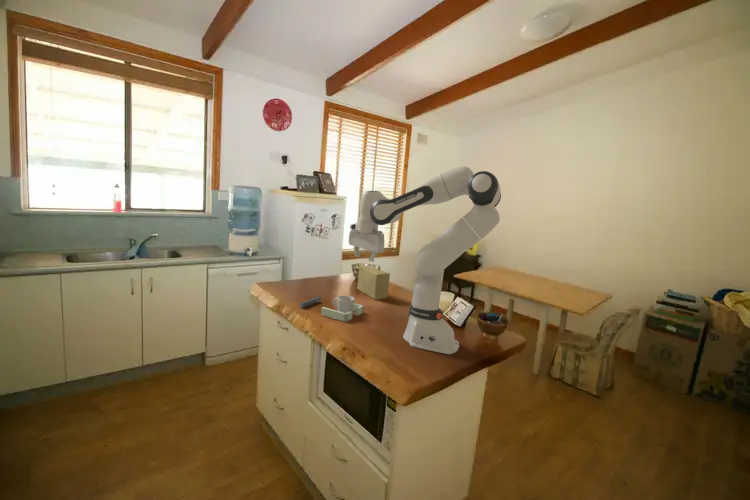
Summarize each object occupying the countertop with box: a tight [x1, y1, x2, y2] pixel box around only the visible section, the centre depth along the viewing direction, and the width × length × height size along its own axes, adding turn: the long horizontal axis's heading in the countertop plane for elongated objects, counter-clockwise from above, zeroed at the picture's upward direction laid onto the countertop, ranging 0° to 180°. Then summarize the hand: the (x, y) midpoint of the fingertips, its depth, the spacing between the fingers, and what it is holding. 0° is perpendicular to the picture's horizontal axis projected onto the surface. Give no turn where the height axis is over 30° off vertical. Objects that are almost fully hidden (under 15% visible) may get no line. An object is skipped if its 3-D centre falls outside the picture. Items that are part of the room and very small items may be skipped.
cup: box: [332, 295, 356, 313], centre depth 161 cm, size 11×8×8 cm
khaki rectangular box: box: [356, 264, 391, 301], centre depth 198 cm, size 22×10×15 cm, turn 39°
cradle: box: [320, 302, 365, 323], centre depth 162 cm, size 13×16×4 cm
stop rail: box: [300, 296, 321, 310], centre depth 169 cm, size 2×14×2 cm, turn 154°
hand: (364, 259), depth 153 cm, fingers open, 8 cm apart
